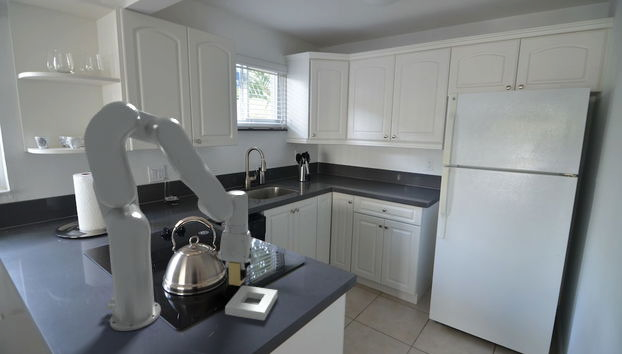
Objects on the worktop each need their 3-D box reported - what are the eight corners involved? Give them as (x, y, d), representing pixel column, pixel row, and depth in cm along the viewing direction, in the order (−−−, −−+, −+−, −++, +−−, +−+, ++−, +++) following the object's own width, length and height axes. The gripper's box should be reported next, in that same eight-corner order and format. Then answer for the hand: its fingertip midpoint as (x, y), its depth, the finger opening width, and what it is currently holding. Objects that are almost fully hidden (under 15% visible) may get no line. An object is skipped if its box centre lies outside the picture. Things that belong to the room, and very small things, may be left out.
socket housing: (225, 314, 89) (225, 306, 89) (242, 292, 101) (242, 285, 100) (264, 320, 87) (264, 312, 86) (277, 297, 98) (277, 290, 98)
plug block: (228, 284, 105) (228, 262, 103) (234, 278, 108) (234, 257, 107) (239, 285, 104) (239, 263, 102) (244, 280, 108) (244, 258, 106)
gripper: (207, 228, 101) (209, 280, 104) (255, 234, 97) (255, 286, 101) (219, 221, 108) (220, 270, 111) (263, 226, 105) (263, 276, 108)
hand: (236, 277), depth 106 cm, fingers closed on plug block, 4 cm apart
